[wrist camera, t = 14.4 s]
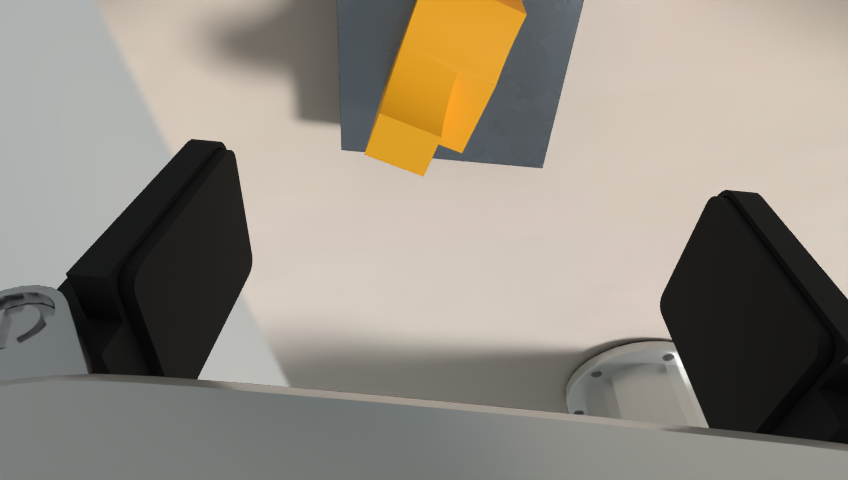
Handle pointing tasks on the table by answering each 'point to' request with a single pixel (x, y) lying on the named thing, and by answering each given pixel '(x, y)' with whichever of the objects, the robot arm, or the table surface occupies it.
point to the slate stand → (510, 101)
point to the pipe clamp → (442, 78)
